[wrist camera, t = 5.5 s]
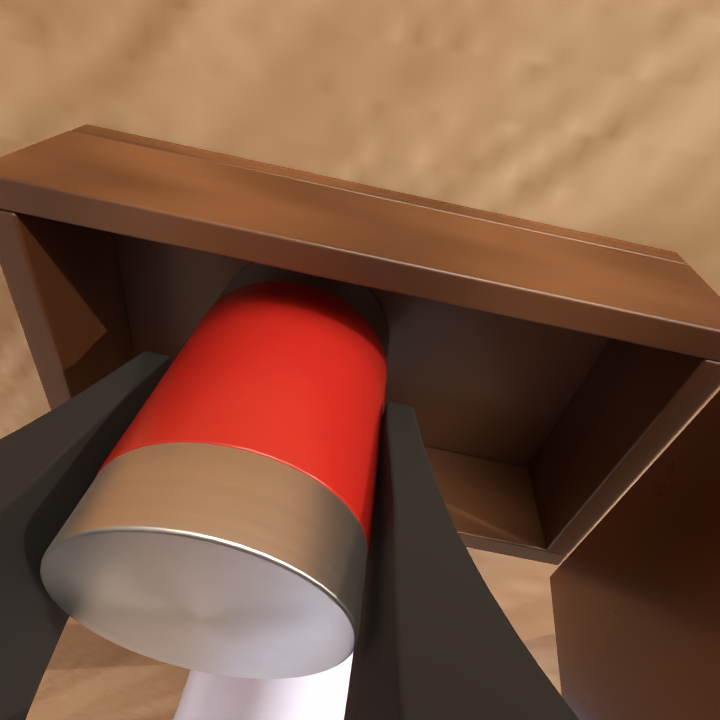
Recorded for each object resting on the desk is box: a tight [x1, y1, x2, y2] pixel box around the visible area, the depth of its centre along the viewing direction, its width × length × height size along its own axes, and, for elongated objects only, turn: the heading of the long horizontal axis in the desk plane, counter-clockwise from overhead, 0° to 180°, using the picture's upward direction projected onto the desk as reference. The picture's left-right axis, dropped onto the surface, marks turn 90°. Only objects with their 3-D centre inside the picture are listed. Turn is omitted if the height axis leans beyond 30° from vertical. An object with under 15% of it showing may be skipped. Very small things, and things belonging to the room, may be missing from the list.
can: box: [40, 263, 389, 679], centre depth 11 cm, size 5×5×8 cm
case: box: [0, 125, 720, 565], centre depth 13 cm, size 15×9×4 cm, turn 80°
